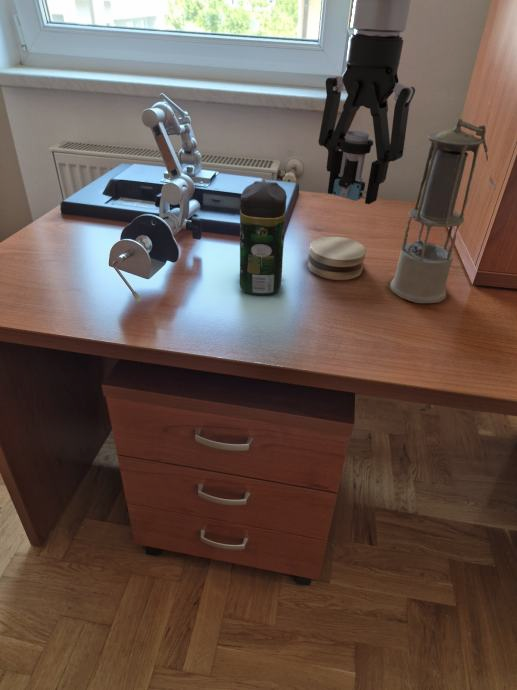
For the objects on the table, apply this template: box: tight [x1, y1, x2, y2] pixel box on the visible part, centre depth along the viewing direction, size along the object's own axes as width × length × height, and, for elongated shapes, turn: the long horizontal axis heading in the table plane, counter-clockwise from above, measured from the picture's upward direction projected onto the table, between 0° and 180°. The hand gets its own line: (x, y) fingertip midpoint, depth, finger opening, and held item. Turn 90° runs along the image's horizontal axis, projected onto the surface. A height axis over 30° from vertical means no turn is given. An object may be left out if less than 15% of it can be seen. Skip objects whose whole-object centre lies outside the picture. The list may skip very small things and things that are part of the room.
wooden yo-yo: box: [307, 236, 367, 281], centre depth 96 cm, size 12×12×4 cm
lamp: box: [389, 118, 496, 304], centre depth 82 cm, size 10×13×30 cm
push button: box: [332, 130, 374, 202], centre depth 77 cm, size 7×5×10 cm
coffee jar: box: [239, 180, 288, 296], centre depth 85 cm, size 10×8×19 cm
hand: (351, 196), depth 80 cm, fingers closed on push button, 6 cm apart
